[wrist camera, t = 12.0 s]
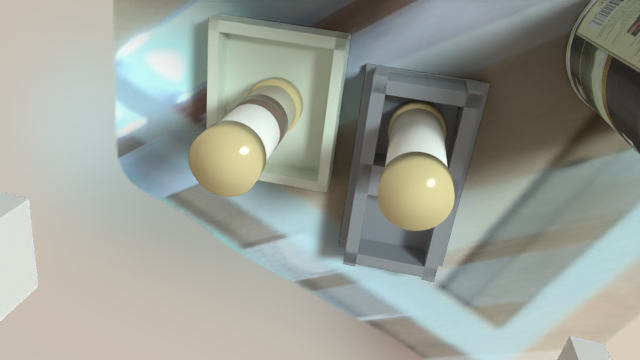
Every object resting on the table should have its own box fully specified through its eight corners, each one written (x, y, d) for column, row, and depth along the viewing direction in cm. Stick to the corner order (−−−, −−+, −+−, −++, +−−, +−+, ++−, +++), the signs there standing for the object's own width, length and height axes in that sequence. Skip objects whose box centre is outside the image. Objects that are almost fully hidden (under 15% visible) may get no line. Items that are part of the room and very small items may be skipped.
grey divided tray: (367, 63, 38) (363, 72, 36) (489, 82, 37) (494, 93, 35) (339, 243, 45) (334, 262, 43) (441, 263, 44) (443, 283, 42)
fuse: (394, 95, 39) (384, 156, 28) (450, 104, 38) (462, 169, 27) (385, 146, 40) (371, 223, 30) (438, 156, 40) (445, 237, 29)
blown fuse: (252, 72, 40) (188, 123, 29) (305, 81, 39) (261, 136, 28) (249, 124, 42) (188, 189, 31) (300, 132, 41) (256, 202, 30)
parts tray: (220, 13, 39) (208, 18, 37) (351, 33, 38) (346, 39, 35) (216, 158, 44) (205, 170, 42) (331, 179, 43) (326, 192, 41)
